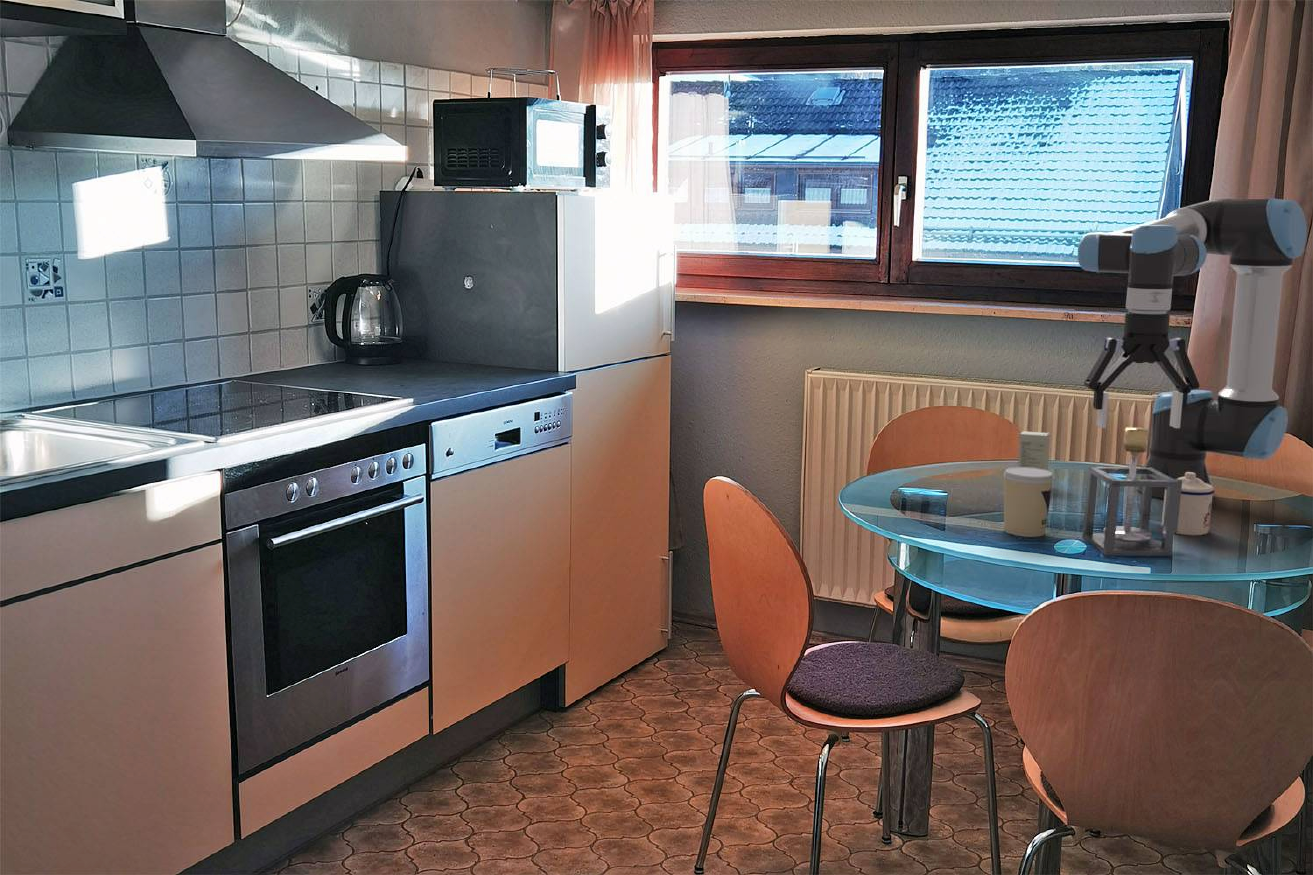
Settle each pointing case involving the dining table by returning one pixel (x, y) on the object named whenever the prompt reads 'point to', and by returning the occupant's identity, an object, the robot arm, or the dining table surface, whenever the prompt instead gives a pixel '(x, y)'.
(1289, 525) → the dining table surface
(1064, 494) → the dining table surface
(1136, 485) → the press frame
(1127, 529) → the plunger
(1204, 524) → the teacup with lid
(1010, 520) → the cream lidded tub
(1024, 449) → the skincare box
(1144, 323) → the robot arm
